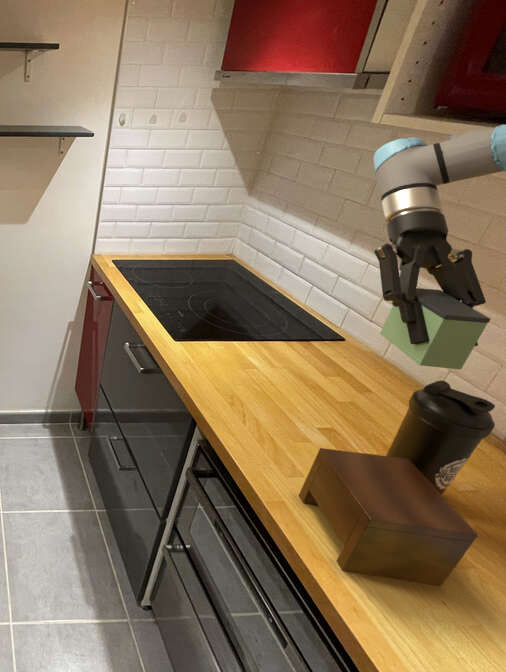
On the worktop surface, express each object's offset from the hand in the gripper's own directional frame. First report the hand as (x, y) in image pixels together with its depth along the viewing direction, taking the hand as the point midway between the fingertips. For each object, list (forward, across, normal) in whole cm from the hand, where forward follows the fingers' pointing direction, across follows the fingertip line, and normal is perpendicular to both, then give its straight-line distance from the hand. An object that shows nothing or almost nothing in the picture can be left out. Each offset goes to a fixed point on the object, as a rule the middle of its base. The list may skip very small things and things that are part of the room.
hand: (443, 344), depth 72 cm
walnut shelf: (+31, +7, -15) cm, 35 cm away
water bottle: (+23, -7, -23) cm, 33 cm away
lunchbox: (0, 0, -5) cm, 5 cm away
